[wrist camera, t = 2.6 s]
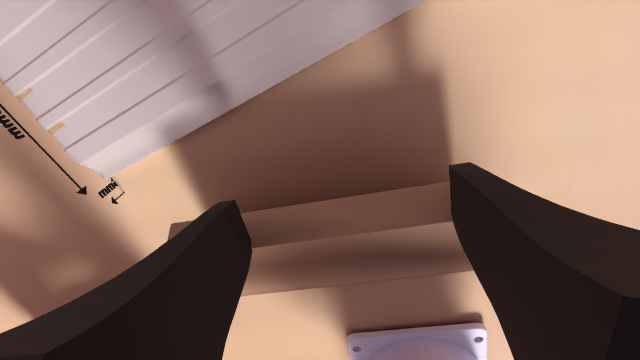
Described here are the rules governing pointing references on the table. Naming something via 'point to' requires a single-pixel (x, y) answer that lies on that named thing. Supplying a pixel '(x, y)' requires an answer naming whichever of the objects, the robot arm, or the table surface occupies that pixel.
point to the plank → (352, 240)
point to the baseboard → (160, 64)
